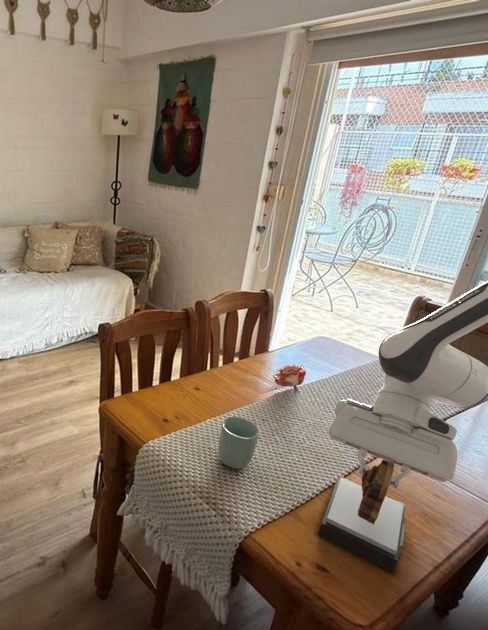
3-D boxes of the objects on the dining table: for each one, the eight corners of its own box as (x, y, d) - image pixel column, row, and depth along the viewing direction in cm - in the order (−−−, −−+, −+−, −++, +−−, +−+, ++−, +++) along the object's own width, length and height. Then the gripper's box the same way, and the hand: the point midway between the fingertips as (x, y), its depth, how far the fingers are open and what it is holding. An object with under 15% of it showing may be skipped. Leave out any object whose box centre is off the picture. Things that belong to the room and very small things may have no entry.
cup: (246, 479, 98) (255, 443, 94) (211, 465, 101) (218, 430, 97) (253, 459, 104) (261, 424, 100) (220, 446, 107) (227, 412, 103)
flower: (315, 385, 132) (305, 359, 133) (307, 391, 125) (297, 364, 126) (283, 391, 138) (274, 367, 139) (273, 398, 131) (264, 372, 132)
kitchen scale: (403, 518, 89) (410, 503, 87) (395, 574, 77) (403, 558, 76) (334, 487, 96) (339, 473, 94) (317, 534, 84) (323, 519, 83)
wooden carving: (360, 481, 92) (368, 440, 89) (387, 490, 89) (396, 448, 86) (351, 532, 79) (360, 487, 76) (382, 544, 77) (392, 497, 74)
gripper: (340, 391, 91) (318, 452, 88) (468, 433, 79) (447, 505, 76) (339, 400, 96) (317, 458, 93) (458, 441, 84) (438, 509, 81)
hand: (377, 480), depth 85 cm, fingers closed on wooden carving, 3 cm apart
